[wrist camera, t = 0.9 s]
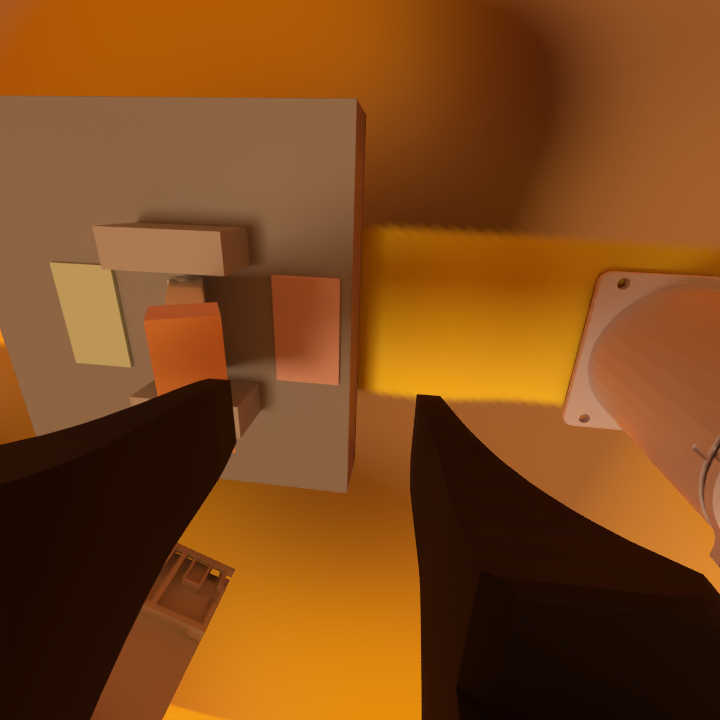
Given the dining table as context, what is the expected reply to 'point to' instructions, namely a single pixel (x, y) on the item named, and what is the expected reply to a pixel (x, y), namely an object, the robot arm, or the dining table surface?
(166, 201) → the panel
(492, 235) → the dining table surface
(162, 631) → the circuit breaker
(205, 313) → the toggle lever
